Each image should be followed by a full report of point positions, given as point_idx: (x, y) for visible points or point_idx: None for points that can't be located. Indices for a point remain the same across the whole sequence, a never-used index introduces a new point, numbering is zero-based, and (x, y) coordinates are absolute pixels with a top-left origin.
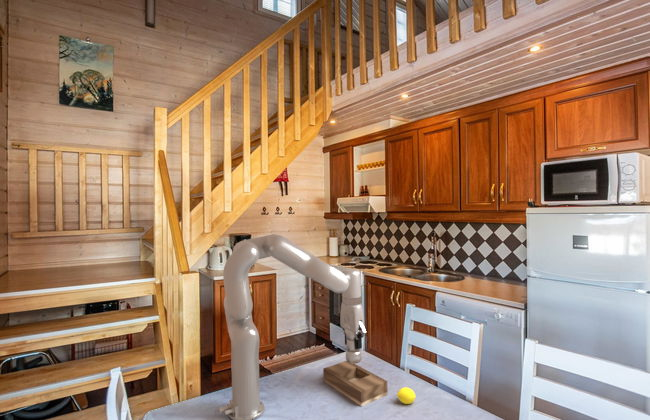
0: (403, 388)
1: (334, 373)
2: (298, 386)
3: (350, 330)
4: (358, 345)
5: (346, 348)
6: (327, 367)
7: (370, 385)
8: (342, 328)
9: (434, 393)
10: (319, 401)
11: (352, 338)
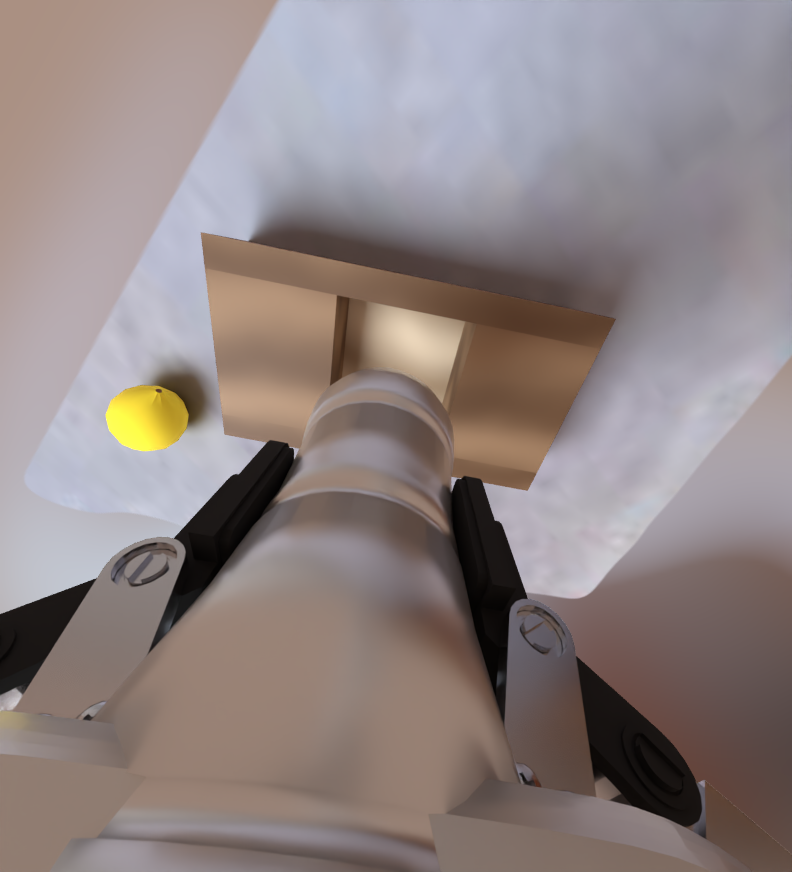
0: (132, 426)
1: (500, 313)
2: (703, 119)
3: (29, 795)
4: (224, 489)
5: (432, 436)
6: (593, 349)
7: (235, 343)
8: (666, 744)
9: (176, 507)
10: (451, 73)
11: (249, 537)
